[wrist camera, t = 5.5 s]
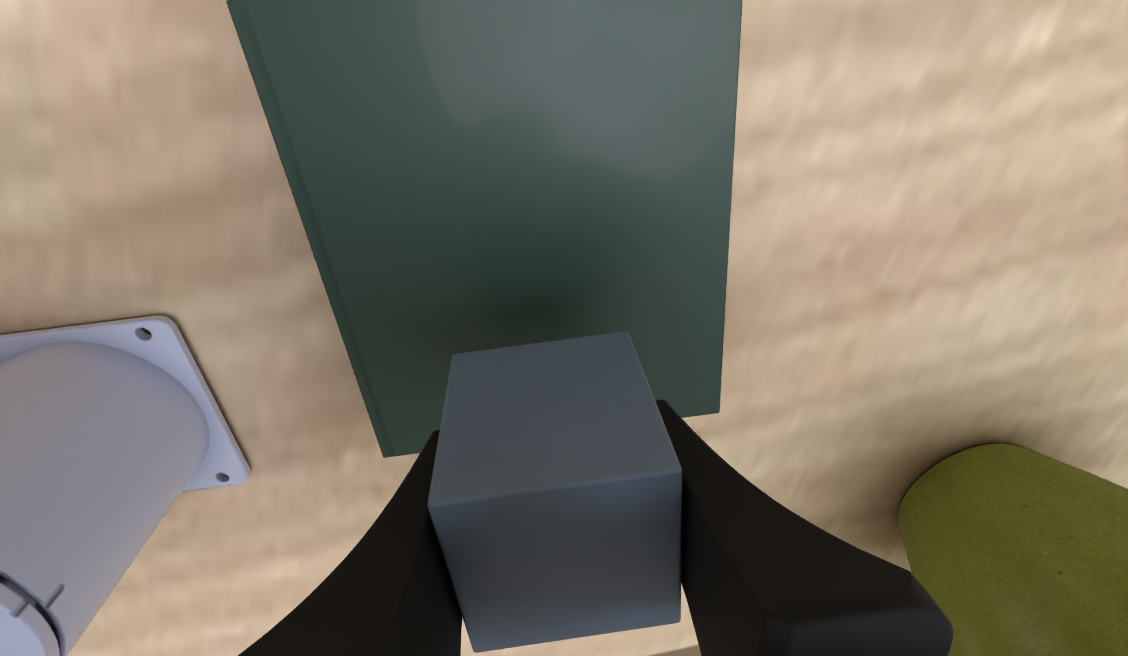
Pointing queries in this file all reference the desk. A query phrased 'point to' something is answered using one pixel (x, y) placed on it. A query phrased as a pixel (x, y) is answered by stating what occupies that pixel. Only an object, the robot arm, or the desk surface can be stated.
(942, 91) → the desk surface
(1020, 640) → the flower pot
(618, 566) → the slate block
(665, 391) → the book
